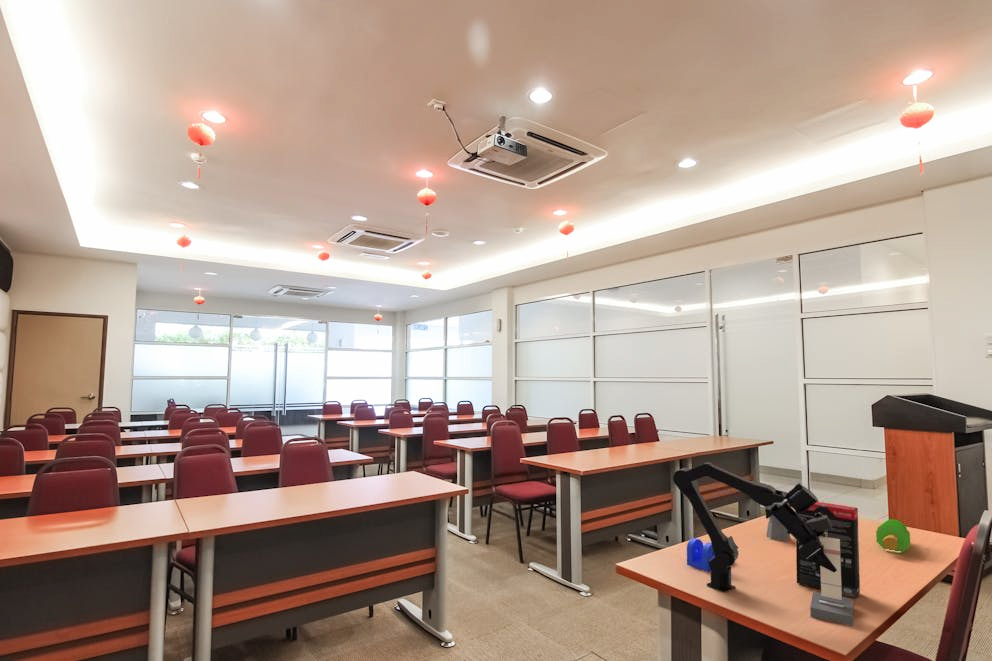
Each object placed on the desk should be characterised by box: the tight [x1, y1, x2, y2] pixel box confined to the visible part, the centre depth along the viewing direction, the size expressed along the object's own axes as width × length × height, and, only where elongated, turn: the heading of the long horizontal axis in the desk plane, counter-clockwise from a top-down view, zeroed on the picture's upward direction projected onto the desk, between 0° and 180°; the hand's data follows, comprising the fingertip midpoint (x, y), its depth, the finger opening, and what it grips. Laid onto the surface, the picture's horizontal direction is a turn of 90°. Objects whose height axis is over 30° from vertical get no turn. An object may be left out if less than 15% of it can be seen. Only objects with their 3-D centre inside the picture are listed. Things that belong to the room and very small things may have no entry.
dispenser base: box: [809, 590, 854, 627], centre depth 154 cm, size 10×14×3 cm
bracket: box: [686, 537, 714, 573], centre depth 193 cm, size 18×8×9 cm, turn 124°
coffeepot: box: [763, 500, 796, 542], centre depth 226 cm, size 15×9×18 cm, turn 70°
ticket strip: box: [819, 536, 843, 600], centre depth 155 cm, size 5×2×16 cm, turn 56°
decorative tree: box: [875, 518, 911, 553], centre depth 216 cm, size 11×12×30 cm
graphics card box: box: [795, 501, 861, 599], centre depth 172 cm, size 17×7×27 cm, turn 48°
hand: (836, 566), depth 154 cm, fingers open, 9 cm apart
